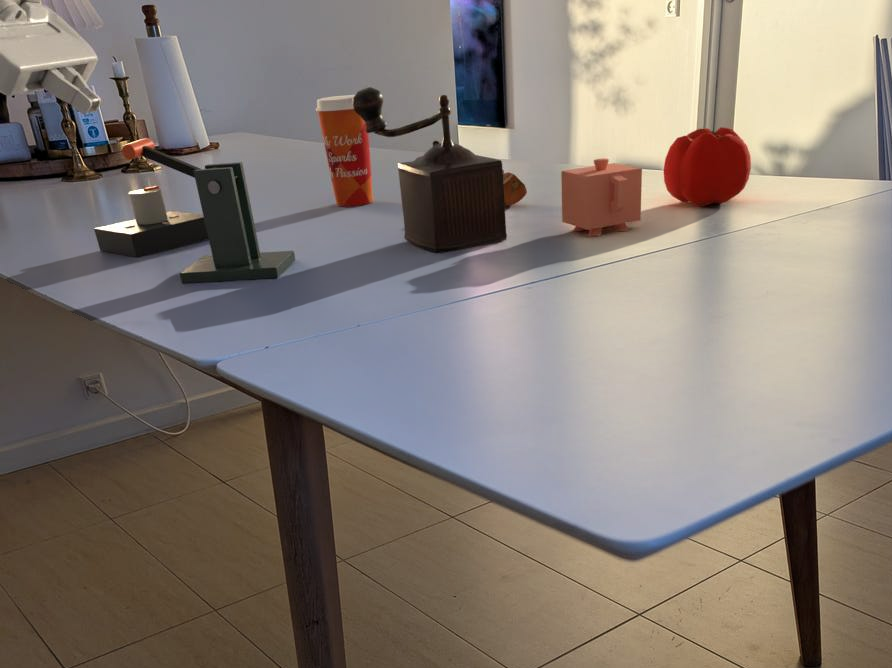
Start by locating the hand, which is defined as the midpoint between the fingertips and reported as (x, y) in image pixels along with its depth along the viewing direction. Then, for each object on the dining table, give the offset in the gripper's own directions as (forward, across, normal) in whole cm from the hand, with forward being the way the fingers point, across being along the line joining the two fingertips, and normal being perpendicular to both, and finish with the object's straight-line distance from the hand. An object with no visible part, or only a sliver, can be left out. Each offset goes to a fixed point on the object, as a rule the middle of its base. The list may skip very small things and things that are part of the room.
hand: (93, 108), depth 104 cm
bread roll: (+44, +34, -17) cm, 59 cm away
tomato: (+65, +28, -37) cm, 80 cm away
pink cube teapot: (+54, +14, -27) cm, 62 cm away
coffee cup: (+26, +46, +1) cm, 53 cm away
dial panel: (+9, +21, +18) cm, 29 cm away
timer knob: (+7, +21, +15) cm, 27 cm away
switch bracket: (+22, +1, +4) cm, 23 cm away
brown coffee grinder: (+39, +11, -12) cm, 42 cm away
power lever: (+11, +1, 0) cm, 11 cm away
